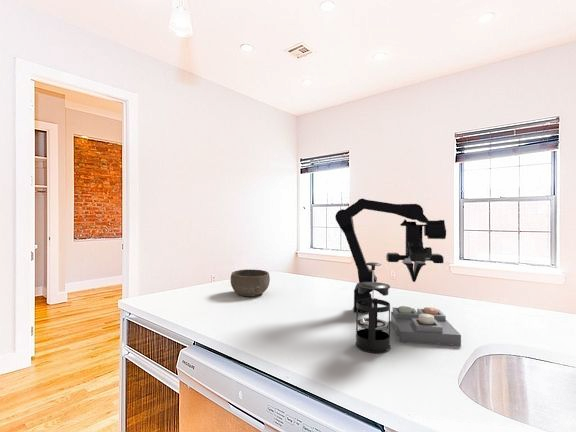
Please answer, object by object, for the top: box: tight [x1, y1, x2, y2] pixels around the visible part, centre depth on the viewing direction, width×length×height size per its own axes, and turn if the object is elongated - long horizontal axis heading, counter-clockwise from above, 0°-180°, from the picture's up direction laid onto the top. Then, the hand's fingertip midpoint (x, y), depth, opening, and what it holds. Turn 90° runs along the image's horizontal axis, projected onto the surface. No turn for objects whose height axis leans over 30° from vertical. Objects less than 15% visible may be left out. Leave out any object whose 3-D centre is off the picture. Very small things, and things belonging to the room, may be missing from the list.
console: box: [390, 307, 462, 347], centre depth 101 cm, size 16×19×4 cm
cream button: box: [419, 314, 434, 324], centre depth 96 cm, size 4×4×2 cm
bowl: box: [230, 268, 271, 297], centre depth 148 cm, size 17×18×10 cm
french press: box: [355, 262, 392, 354], centre depth 90 cm, size 12×9×23 cm
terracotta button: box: [423, 306, 439, 315], centre depth 106 cm, size 4×4×2 cm
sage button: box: [397, 305, 412, 313], centre depth 107 cm, size 4×4×2 cm
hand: (413, 281), depth 118 cm, fingers closed
